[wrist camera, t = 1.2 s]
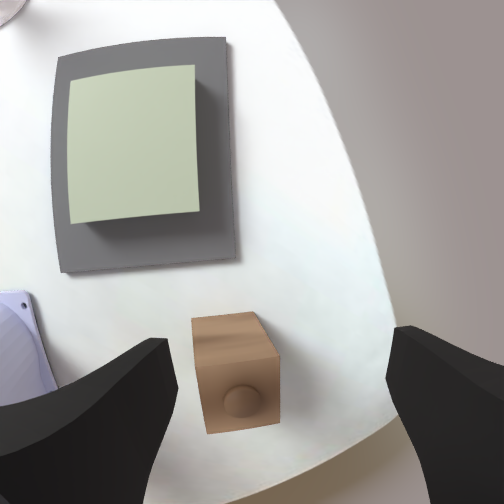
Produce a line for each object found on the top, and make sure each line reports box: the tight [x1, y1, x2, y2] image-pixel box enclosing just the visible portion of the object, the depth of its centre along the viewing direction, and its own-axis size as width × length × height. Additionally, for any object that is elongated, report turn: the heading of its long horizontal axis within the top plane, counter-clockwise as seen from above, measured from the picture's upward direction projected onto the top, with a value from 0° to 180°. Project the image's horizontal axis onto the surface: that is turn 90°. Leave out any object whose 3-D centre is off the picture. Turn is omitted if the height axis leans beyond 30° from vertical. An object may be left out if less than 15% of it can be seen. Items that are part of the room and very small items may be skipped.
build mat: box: [51, 37, 236, 273], centre depth 16 cm, size 14×11×1 cm
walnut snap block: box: [191, 311, 280, 434], centre depth 17 cm, size 4×4×6 cm
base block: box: [67, 65, 200, 224], centre depth 15 cm, size 8×7×2 cm
